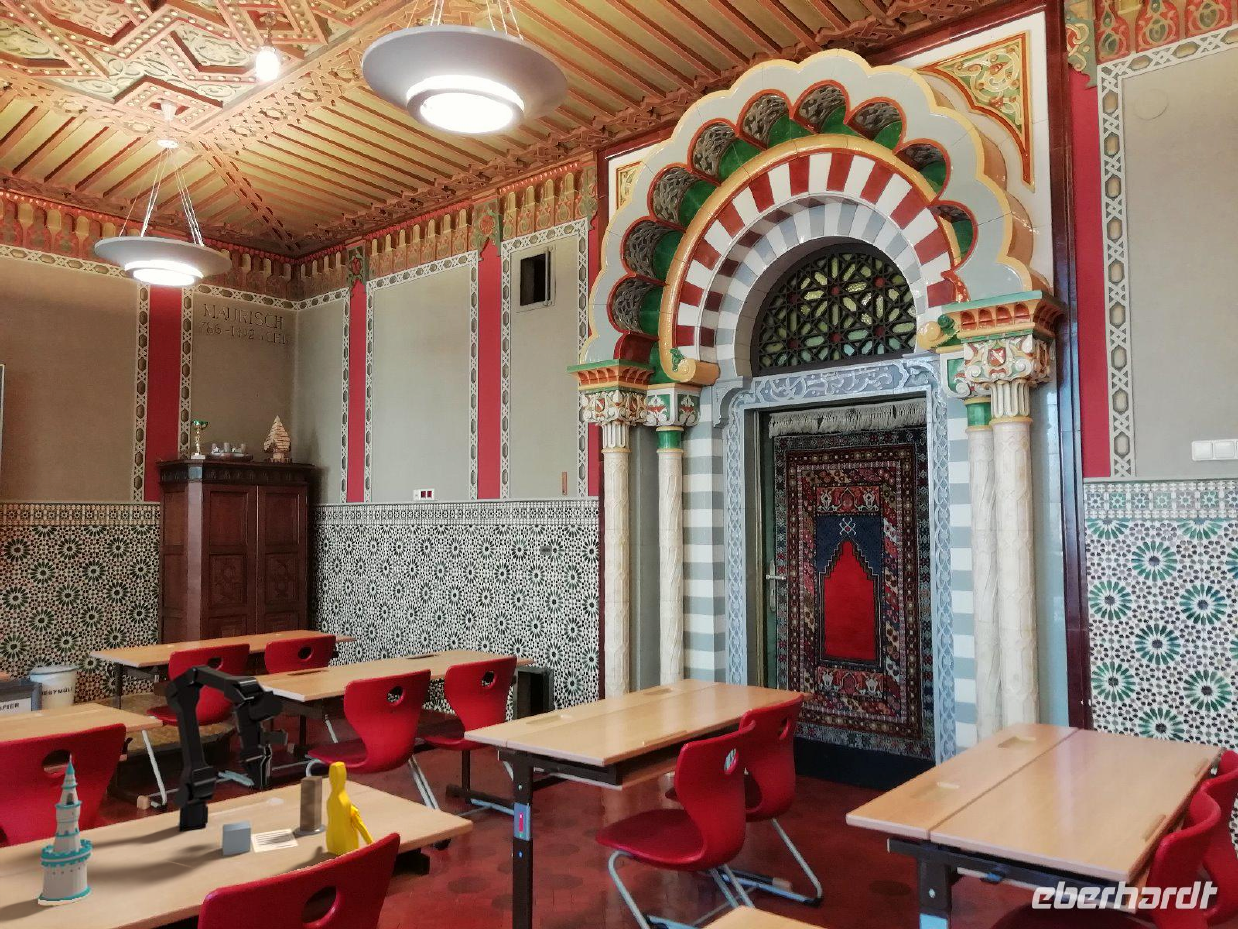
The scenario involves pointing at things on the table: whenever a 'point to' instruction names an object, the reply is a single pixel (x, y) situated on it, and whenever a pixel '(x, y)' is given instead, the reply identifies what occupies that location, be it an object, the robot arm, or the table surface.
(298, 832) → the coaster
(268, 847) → the letter
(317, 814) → the walnut block
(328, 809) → the figure statuette
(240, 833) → the grey cube
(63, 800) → the model tower
